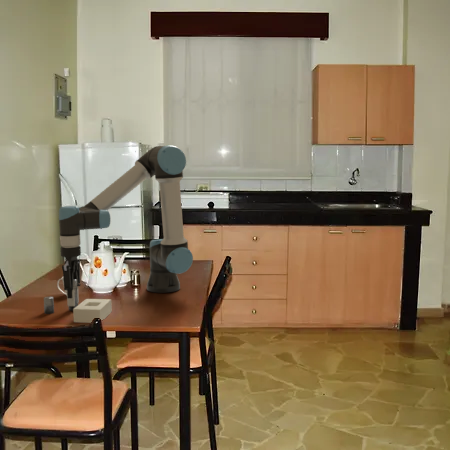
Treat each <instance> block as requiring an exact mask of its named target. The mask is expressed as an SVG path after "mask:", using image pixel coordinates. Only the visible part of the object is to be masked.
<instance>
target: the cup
mask: <svg viewBox="0 0 450 450" xmlns="http://www.w3.org/2000/svg"><path fill="white" fill-rule="evenodd" d="M60 281H62V285H63V287H64V280H63V276H62V277H61V278H59V279H58V280H57V285H56V286H57V289H58V290H59V291H60V292H61V294H64V295H65V296H66V297H67V290H64V291H63V290H62V289H61V288H60V285H59V284H60Z"/></svg>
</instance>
